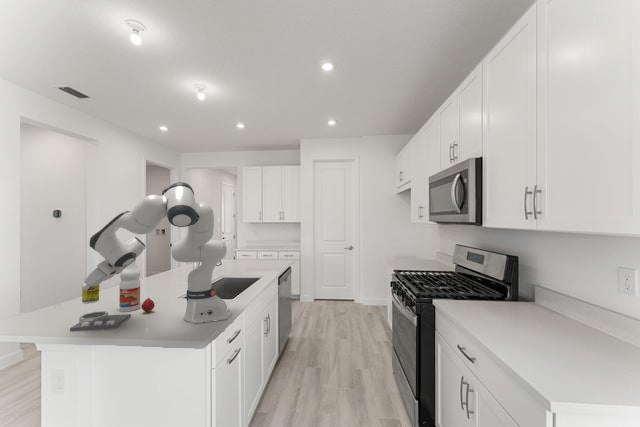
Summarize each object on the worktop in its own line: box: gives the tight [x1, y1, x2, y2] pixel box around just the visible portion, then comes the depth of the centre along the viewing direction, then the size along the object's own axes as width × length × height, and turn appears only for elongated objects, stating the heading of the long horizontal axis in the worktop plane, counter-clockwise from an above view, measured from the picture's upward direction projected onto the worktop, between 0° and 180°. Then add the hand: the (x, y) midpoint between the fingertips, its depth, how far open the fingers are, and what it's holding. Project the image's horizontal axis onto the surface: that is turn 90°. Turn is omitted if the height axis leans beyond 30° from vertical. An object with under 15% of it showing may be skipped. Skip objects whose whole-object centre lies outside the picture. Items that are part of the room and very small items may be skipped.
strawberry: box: [141, 297, 155, 314], centre depth 151 cm, size 6×6×8 cm
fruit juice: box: [119, 258, 141, 313], centre depth 157 cm, size 9×9×28 cm
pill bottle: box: [81, 277, 100, 305], centre depth 134 cm, size 6×6×11 cm
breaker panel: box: [69, 313, 132, 332], centre depth 136 cm, size 18×15×3 cm
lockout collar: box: [78, 310, 109, 324], centre depth 136 cm, size 10×10×2 cm
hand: (89, 287), depth 134 cm, fingers closed on pill bottle, 6 cm apart
